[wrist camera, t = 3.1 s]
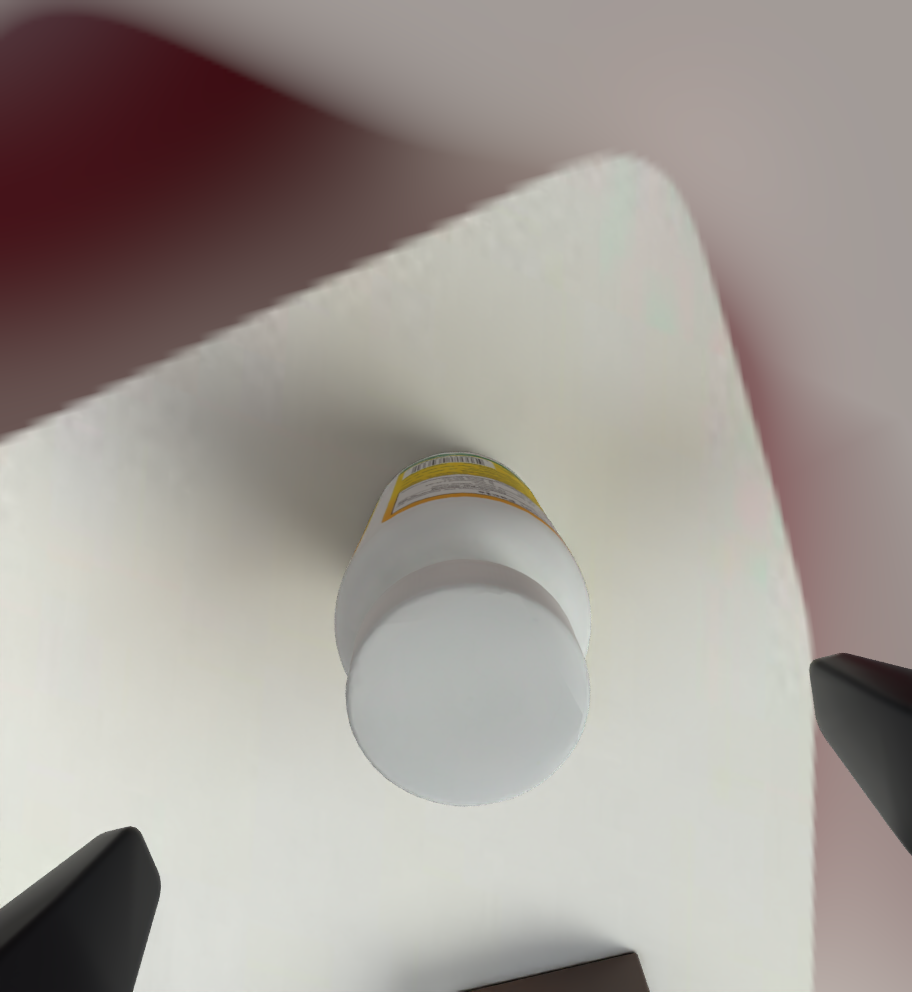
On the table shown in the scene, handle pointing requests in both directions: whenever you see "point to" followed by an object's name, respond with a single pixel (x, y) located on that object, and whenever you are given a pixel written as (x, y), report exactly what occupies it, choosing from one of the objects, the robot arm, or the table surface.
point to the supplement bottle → (463, 635)
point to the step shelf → (584, 978)
